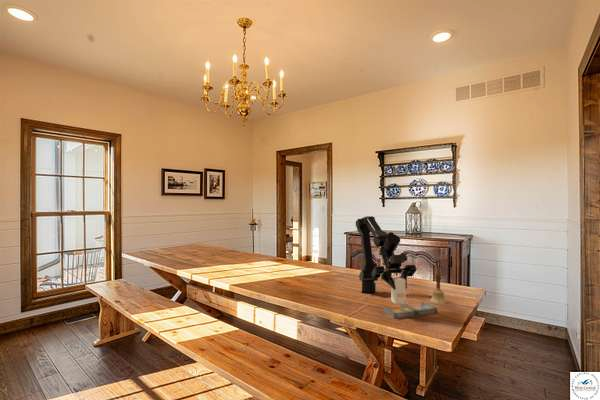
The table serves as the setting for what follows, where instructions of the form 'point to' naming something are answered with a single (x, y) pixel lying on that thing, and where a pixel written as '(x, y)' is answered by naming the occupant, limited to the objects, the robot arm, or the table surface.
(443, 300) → the hand bell
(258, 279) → the table surface
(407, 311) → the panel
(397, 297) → the cream rectangular block
